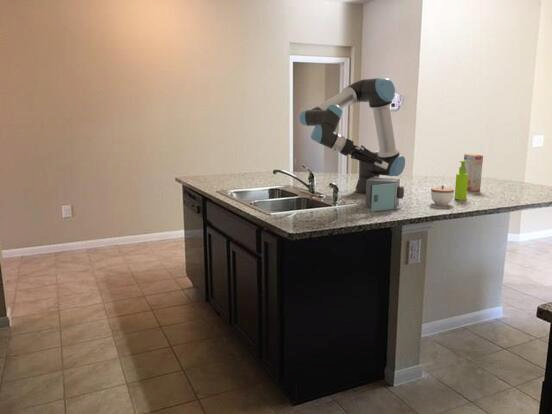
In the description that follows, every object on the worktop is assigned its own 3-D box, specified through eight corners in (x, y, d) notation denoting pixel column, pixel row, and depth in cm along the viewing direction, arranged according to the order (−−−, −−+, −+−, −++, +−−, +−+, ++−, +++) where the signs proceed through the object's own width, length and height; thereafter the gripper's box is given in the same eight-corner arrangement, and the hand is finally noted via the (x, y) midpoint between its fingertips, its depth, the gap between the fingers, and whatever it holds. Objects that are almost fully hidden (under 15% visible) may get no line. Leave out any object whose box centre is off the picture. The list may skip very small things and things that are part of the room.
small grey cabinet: (370, 202, 238) (371, 175, 236) (404, 205, 232) (405, 177, 229) (365, 207, 227) (366, 178, 225) (400, 209, 221) (402, 180, 218)
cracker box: (480, 191, 273) (483, 155, 269) (470, 191, 274) (473, 155, 270) (471, 187, 287) (473, 153, 283) (461, 187, 287) (463, 153, 283)
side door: (371, 211, 216) (372, 185, 213) (394, 208, 222) (395, 183, 220) (373, 211, 214) (374, 185, 212) (397, 208, 221) (398, 183, 218)
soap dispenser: (469, 199, 246) (472, 161, 242) (455, 199, 248) (458, 161, 244) (467, 197, 252) (470, 160, 248) (453, 197, 253) (456, 160, 249)
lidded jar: (429, 205, 231) (430, 186, 229) (430, 201, 241) (432, 183, 239) (452, 207, 227) (454, 187, 225) (453, 203, 237) (454, 184, 235)
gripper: (335, 156, 225) (378, 176, 227) (344, 147, 212) (390, 169, 215) (340, 142, 227) (383, 163, 229) (350, 133, 214) (395, 155, 217)
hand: (387, 166), depth 222 cm, fingers closed
